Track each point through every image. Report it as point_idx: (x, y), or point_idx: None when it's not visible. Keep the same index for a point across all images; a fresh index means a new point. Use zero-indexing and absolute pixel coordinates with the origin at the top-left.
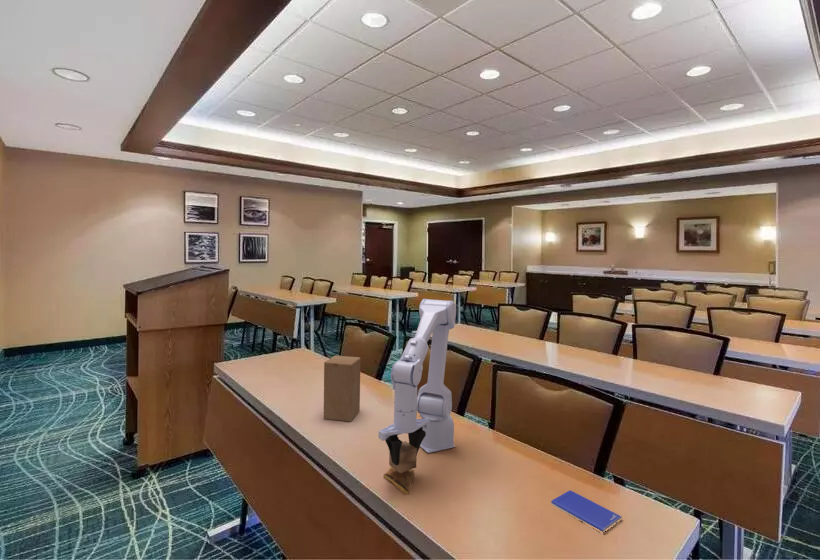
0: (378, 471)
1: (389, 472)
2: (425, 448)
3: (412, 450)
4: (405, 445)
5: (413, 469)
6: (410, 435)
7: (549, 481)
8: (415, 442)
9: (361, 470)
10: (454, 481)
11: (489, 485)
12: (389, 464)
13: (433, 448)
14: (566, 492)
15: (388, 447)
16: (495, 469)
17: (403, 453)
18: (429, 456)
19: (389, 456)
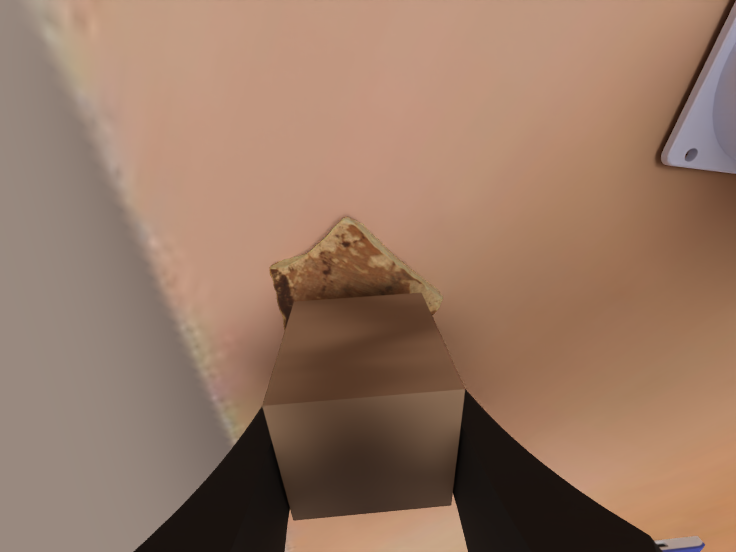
0: (270, 192)
1: (302, 280)
2: (702, 109)
3: (407, 503)
4: (406, 449)
5: (440, 299)
6: (496, 540)
7: (728, 498)
8: (470, 538)
9: (164, 121)
10: (523, 408)
11: (589, 460)
12: (293, 306)
13: (730, 150)
14: (685, 550)
15: (213, 474)
16: (706, 409)
17: (322, 510)
18: (631, 194)
19: (283, 338)
